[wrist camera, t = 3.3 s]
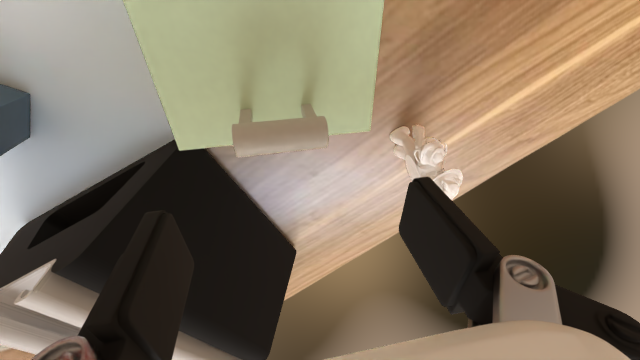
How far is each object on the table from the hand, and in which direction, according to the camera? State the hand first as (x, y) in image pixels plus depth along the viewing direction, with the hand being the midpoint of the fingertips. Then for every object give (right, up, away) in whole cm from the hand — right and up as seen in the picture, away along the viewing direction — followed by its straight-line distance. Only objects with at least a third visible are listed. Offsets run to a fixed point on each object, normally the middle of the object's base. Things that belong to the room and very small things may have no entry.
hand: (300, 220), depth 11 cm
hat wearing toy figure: (+11, +7, +22) cm, 26 cm away
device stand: (-18, -6, +24) cm, 31 cm away
